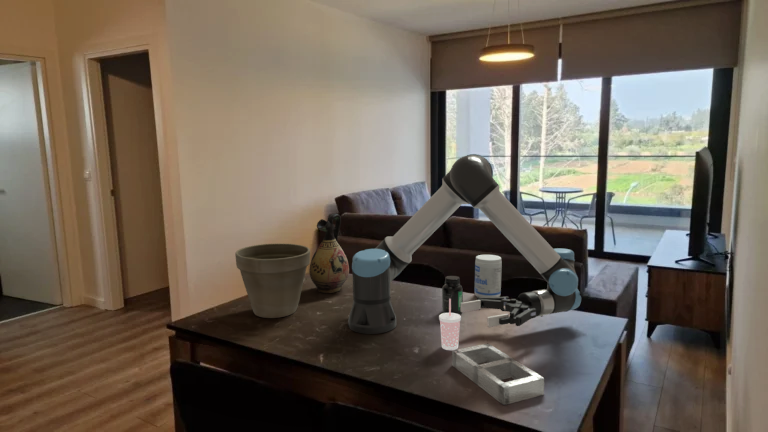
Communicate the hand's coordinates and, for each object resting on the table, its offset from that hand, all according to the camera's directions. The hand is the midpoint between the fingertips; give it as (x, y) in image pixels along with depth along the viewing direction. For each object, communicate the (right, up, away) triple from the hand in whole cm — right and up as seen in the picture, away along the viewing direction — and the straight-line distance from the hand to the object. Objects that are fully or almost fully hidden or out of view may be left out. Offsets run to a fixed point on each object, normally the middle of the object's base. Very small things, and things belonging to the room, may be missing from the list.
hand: (473, 314), depth 144 cm
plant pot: (-63, -5, +31) cm, 70 cm away
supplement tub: (+13, -2, +45) cm, 46 cm away
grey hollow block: (+1, -12, -21) cm, 24 cm away
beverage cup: (-7, -9, -1) cm, 11 cm away
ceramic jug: (-46, -1, +56) cm, 73 cm away
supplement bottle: (-2, -5, +27) cm, 28 cm away
